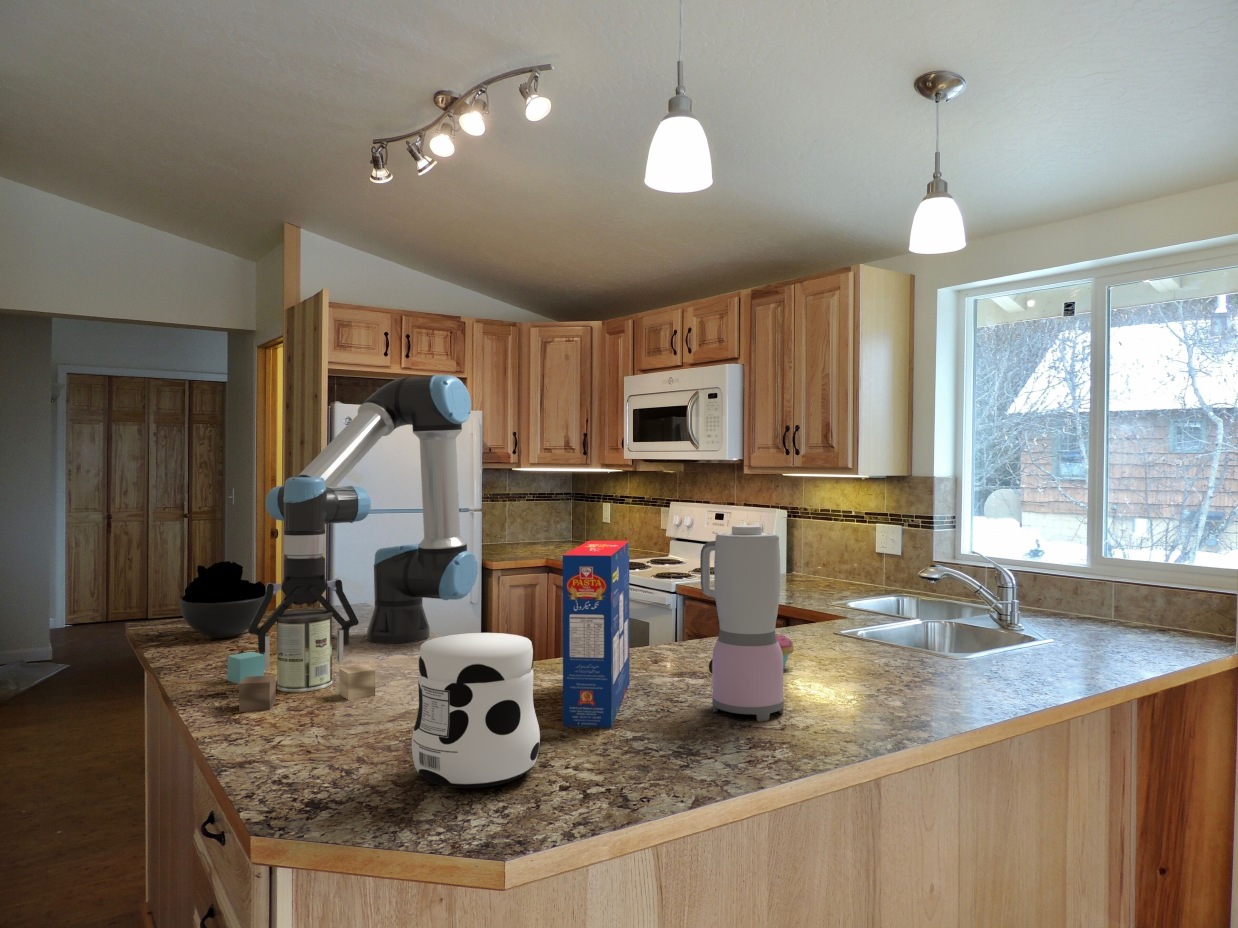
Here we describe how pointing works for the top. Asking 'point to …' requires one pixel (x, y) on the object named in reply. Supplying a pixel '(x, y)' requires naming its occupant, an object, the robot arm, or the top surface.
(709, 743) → the top surface
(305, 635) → the coffee can
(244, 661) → the teal cube
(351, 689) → the oak cube
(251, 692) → the walnut cube
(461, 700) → the milk container
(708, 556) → the blender
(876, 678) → the top surface
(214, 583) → the bowl of black rocks
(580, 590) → the pasta box
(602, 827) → the top surface
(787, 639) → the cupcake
